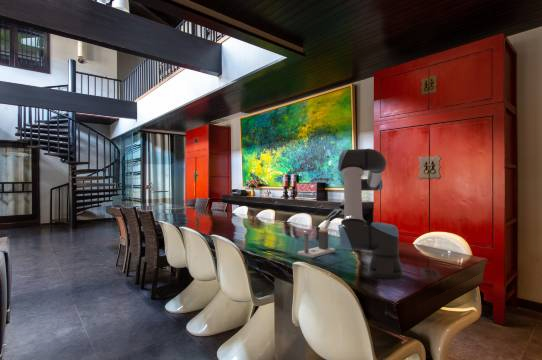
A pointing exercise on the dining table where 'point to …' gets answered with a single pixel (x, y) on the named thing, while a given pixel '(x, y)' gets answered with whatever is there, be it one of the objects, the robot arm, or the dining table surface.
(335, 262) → the dining table surface
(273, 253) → the dining table surface
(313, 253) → the base plate with post
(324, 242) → the orange and black block
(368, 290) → the dining table surface
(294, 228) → the bar
